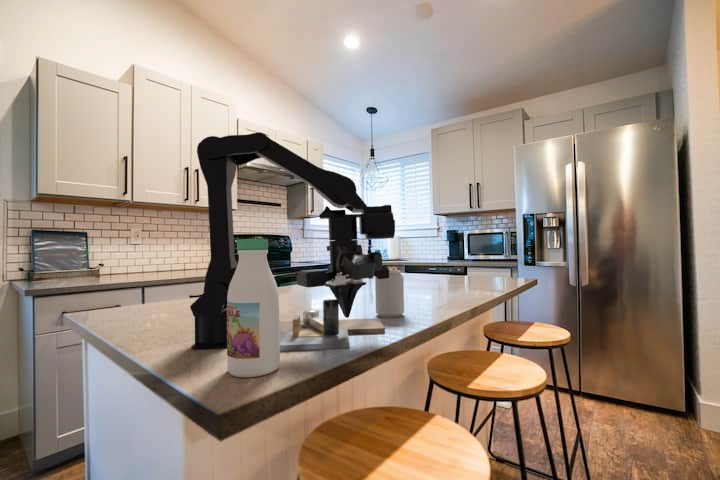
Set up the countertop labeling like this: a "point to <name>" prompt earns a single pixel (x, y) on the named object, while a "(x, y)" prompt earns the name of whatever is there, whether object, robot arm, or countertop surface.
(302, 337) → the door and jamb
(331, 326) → the lock bar
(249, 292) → the milk bottle
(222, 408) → the countertop surface
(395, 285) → the can
